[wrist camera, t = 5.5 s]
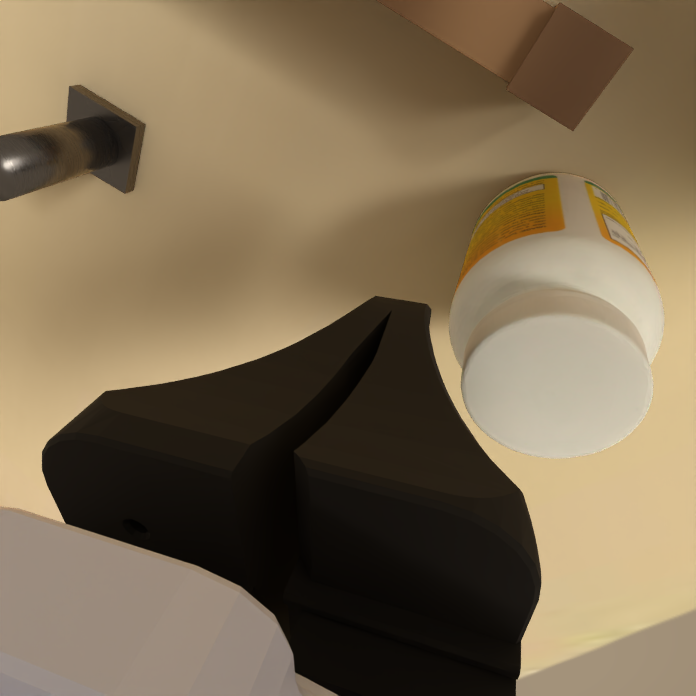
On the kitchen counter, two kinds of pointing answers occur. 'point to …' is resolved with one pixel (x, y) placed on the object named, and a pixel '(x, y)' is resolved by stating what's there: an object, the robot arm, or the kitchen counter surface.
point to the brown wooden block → (527, 48)
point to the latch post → (73, 148)
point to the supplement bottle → (555, 320)
